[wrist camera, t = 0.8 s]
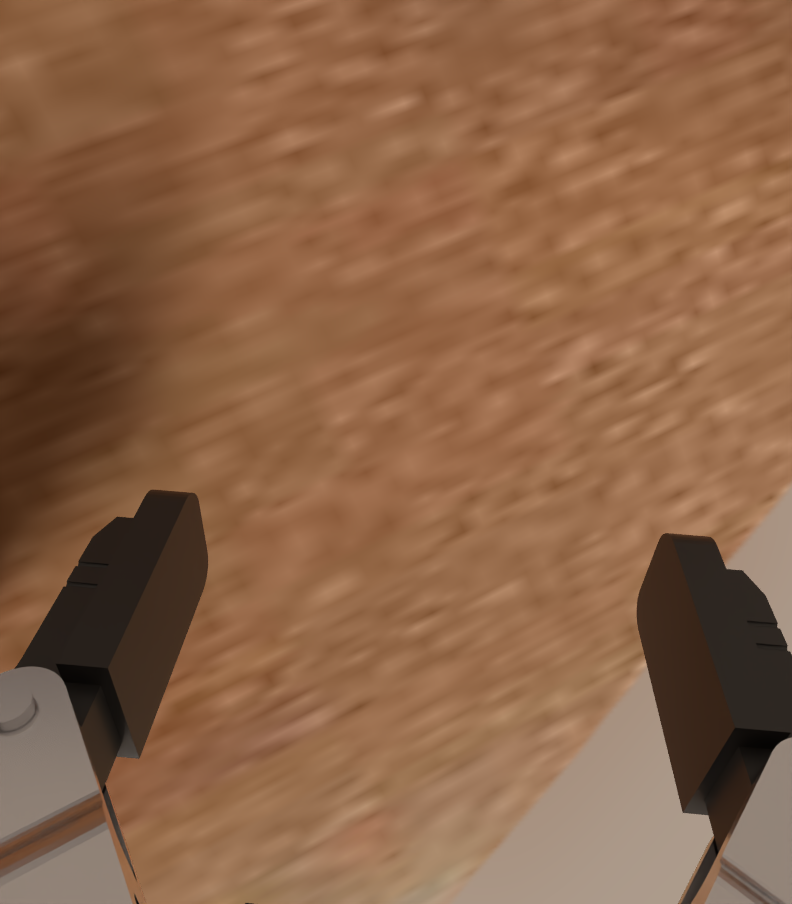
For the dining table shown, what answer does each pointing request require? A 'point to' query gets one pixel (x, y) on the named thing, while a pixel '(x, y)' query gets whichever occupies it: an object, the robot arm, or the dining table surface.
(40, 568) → the dining table surface
